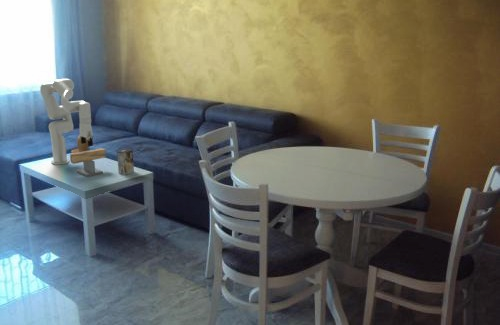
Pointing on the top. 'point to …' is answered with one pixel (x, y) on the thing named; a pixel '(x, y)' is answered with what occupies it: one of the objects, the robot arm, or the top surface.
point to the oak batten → (87, 155)
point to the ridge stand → (89, 169)
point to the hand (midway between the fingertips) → (87, 144)
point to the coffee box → (125, 161)
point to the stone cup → (81, 146)
